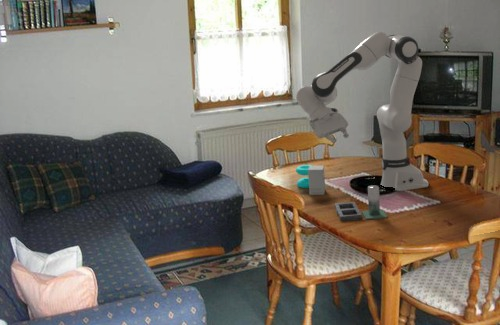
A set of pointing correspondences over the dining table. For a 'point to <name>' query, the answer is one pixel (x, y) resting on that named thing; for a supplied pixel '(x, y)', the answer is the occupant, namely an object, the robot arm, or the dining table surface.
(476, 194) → the dining table surface
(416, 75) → the robot arm
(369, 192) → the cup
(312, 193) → the supplement box
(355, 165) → the dining table surface
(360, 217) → the grey double frame
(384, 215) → the mat
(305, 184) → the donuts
